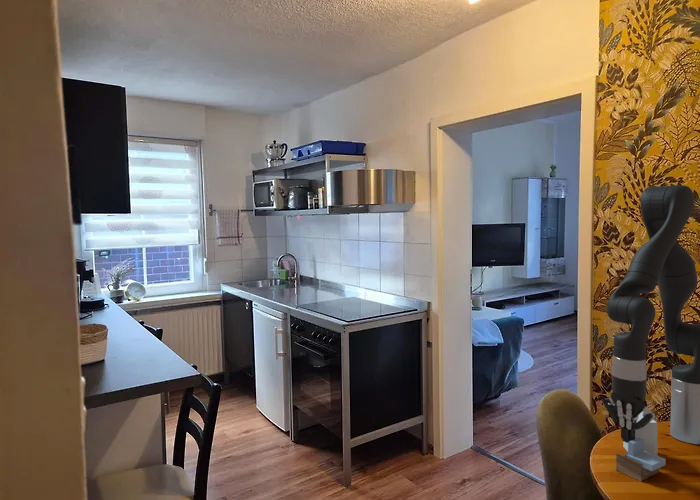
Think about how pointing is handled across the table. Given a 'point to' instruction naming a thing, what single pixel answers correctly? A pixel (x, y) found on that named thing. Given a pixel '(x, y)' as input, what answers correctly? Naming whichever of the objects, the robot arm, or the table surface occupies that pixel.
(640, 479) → the case
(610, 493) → the table surface
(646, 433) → the small box
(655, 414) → the robot arm
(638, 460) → the lid
